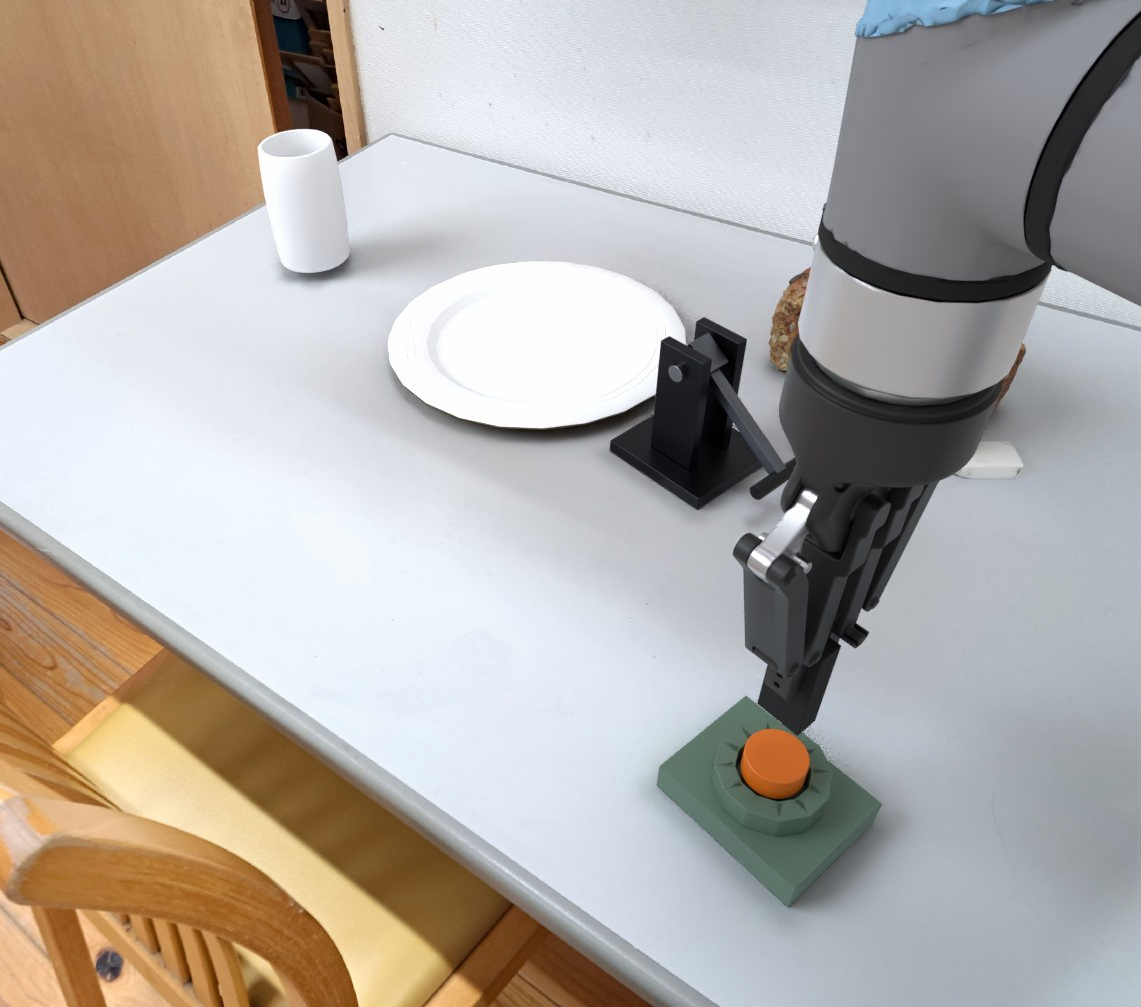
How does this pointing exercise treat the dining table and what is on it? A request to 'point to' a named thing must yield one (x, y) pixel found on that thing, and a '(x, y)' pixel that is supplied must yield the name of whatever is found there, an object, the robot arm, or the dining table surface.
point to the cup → (304, 199)
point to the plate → (533, 344)
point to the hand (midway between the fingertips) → (785, 711)
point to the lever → (744, 421)
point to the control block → (767, 804)
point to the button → (774, 763)
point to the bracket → (691, 423)
